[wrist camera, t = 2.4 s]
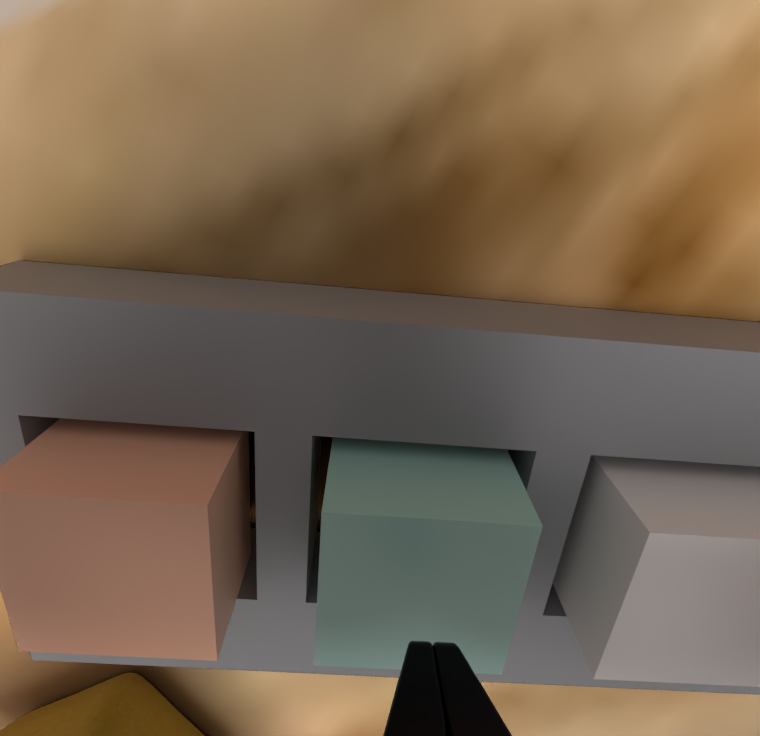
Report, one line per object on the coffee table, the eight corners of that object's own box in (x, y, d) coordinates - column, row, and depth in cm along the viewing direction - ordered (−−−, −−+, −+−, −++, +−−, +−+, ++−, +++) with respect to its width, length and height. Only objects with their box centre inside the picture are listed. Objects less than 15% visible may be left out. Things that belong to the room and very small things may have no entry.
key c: (502, 438, 12) (543, 526, 9) (474, 566, 13) (502, 674, 10) (334, 427, 11) (321, 512, 9) (326, 558, 13) (314, 665, 10)
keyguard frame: (1035, 345, 12) (1188, 386, 10) (851, 625, 16) (931, 702, 14) (19, 260, 11) (-73, 285, 9) (84, 583, 15) (31, 660, 13)
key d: (248, 421, 11) (207, 505, 8) (250, 553, 13) (217, 661, 10) (72, 409, 11) (-29, 490, 8) (96, 544, 13) (18, 651, 10)
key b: (744, 456, 12) (858, 545, 9) (689, 578, 13) (771, 687, 11) (584, 445, 12) (649, 532, 9) (547, 570, 13) (593, 679, 10)
